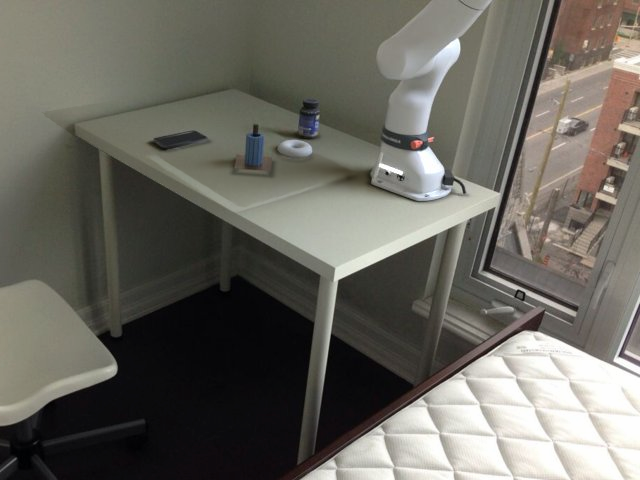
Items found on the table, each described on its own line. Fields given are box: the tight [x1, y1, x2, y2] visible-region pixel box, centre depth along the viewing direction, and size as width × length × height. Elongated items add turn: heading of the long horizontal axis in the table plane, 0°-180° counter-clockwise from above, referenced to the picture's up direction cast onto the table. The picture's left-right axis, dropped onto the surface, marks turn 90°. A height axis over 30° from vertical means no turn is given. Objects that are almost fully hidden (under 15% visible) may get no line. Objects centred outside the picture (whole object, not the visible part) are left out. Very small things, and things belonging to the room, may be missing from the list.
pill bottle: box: [297, 97, 321, 140], centre depth 221 cm, size 6×6×11 cm
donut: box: [277, 139, 313, 158], centre depth 209 cm, size 10×4×10 cm
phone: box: [152, 129, 208, 151], centre depth 213 cm, size 8×1×15 cm
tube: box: [244, 131, 265, 166], centre depth 198 cm, size 5×5×8 cm
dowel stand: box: [234, 123, 273, 172], centre depth 197 cm, size 10×10×12 cm
